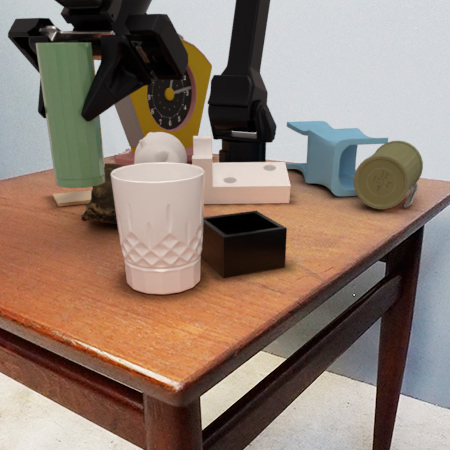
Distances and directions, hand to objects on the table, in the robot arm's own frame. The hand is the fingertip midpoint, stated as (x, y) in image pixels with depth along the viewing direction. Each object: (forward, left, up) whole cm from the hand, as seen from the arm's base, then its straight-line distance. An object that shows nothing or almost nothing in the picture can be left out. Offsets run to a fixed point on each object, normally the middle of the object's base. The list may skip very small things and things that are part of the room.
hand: (62, 116), depth 52 cm
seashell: (-7, -9, -14) cm, 18 cm away
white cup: (-6, +12, -14) cm, 19 cm away
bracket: (-24, -12, -14) cm, 30 cm away
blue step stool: (-40, -6, -9) cm, 41 cm away
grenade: (-38, +2, -10) cm, 39 cm away
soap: (-20, -51, -14) cm, 57 cm away
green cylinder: (-1, -1, -7) cm, 7 cm away
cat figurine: (-15, -23, -14) cm, 30 cm away
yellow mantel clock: (-22, -41, -13) cm, 49 cm away
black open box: (-14, +10, -13) cm, 22 cm away
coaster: (-3, -21, -13) cm, 25 cm away
